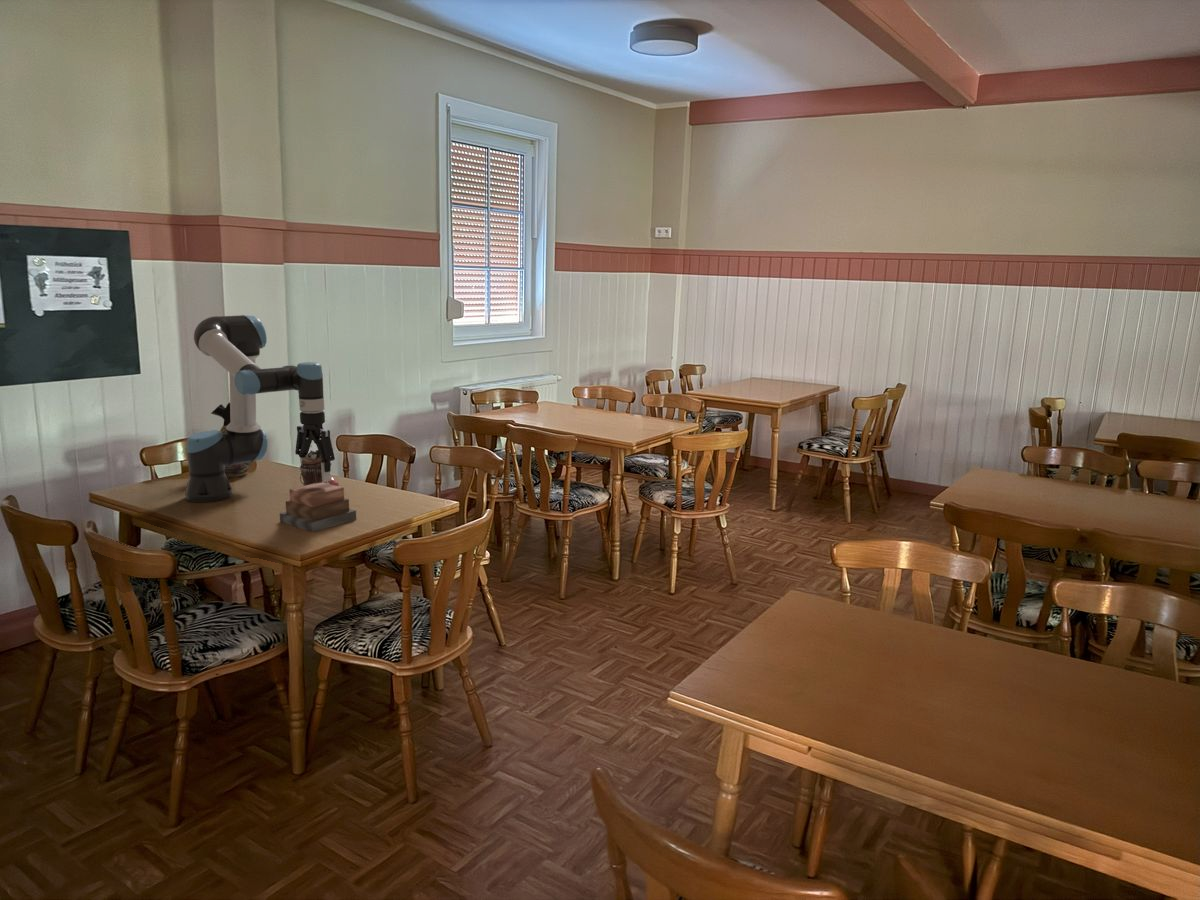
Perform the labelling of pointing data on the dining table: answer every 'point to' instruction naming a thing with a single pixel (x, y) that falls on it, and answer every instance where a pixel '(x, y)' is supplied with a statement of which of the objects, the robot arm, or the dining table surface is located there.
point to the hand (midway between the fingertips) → (316, 478)
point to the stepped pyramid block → (317, 507)
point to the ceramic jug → (225, 414)
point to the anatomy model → (323, 482)
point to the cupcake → (312, 467)
